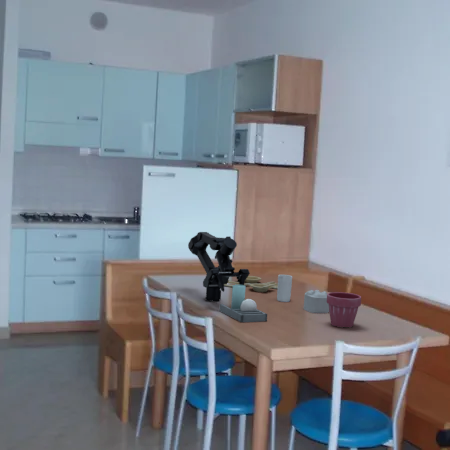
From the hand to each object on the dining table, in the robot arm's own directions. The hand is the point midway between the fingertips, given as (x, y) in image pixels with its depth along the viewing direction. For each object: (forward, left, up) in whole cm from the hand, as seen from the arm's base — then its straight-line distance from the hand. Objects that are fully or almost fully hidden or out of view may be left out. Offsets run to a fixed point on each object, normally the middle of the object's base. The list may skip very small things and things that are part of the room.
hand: (233, 291), depth 307 cm
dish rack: (+4, -9, -9) cm, 13 cm away
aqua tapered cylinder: (+2, -5, -9) cm, 10 cm away
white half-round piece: (+6, -11, -9) cm, 15 cm away
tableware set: (+16, +61, -9) cm, 64 cm away
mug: (+26, +29, -9) cm, 40 cm away
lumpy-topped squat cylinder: (+39, +11, -9) cm, 41 cm away
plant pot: (+45, -17, -9) cm, 49 cm away
